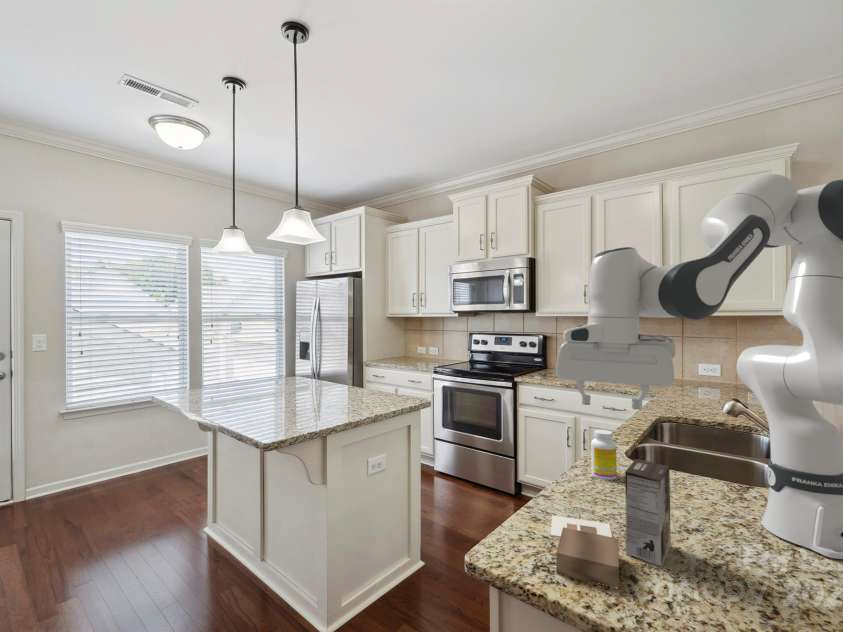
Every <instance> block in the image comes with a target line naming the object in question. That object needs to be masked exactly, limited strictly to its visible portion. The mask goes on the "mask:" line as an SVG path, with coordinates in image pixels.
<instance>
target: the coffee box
mask: <svg viewBox="0 0 843 632" xmlns="http://www.w3.org/2000/svg"><path fill="white" fill-rule="evenodd" d="M624 474H625V479H624V482H625V483H624V484H625V487H624V488H625V491H624V492H625V555H626V556H628V555H630V556H629V557H631V556H634V557H637V558H640V559H643V560H646V561H648V562H647V563H649V562H651V563H650V564H652V563H654V564H653V565H655V564H657V565H660V566H659V567H663V565H664V563H665V562H666V561H665V560H666V558H667V555H668V553H669V551H670V548H671V487H670V486H671V483H670V482H671V480H670V475H671V474H670V465H667V464H666V465H665V464H660V463H657V462H653V461H648V460H643V459H638V458H635V459H634V461H633V462H632V463H631V464H630V465H629V466H628V468H627V469H626V470H625V472H624ZM634 557H633V558H634ZM637 558H636V559H637ZM640 559H639V560H640ZM643 560H642V561H643ZM646 561H645V562H646ZM657 565H656V566H657Z"/></svg>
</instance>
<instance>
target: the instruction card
mask: <svg viewBox="0 0 843 632" xmlns="http://www.w3.org/2000/svg"><path fill="white" fill-rule="evenodd" d="M563 527H564V528H569V529H574V530H579V531H584V532H588V533H593V534H598V535H603V536H608V537H613V534H612V529H611V525H610V523H605V522H600V521H595V520H594V521H592V520H586V519H579V518H572V517H567V516H560V515H551V525H550V537H551V536H552V537H557V538H560V537H561V533H562V530H563Z"/></svg>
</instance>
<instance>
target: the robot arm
mask: <svg viewBox="0 0 843 632" xmlns="http://www.w3.org/2000/svg"><path fill="white" fill-rule="evenodd" d="M700 229H701V230H700V232H701V235H702V237H703V240H704V242H705V243H706V245H708V247H709V248H710V250H709V251H708V252H707V253H706V255H704V256H701V258H697V259H692V260H687V261H685V262H681V263H676V264H675V263H674V264H670V265H664V266H663V265H662V266H658V265H655V264H652V263H651V262H649V261H647V260H646V259H644V258H643V257H642V256H641V255H640V254H639V253H638V251H637V249H636V248H635V247H630V246H629V247H628V246H627V247H626V246H625V247H624V246H623V247H618V248H614V249H609V250H604V251H601V252H599V253H597V254H595V256H593V259H592V261H591V265H590V269H589V278H588V299H589V303H590V308H589V311H588V314H587V315H588V316H587V324H585V325H578V326H577V327H572V328H568V329H566V330H565V331H564V332H563V335H562V336H563V339H564V341H565V342H563V343H562V344H561V345H560V347H559V349H558V354H557V358H556V364H555V365H556V366H555V376H556V377H557V378H558V379H559V380H565V381H566V380H568V381H576V385H575V386H576V388H577V389H578V391H579V393H580V395H581V404H582V406H583V405H586V406H591V394H588V393H587V394H586V393H585V390H584V389H583V387H585V382H595V383H607V384H624V385H625V384H626V385H635V386H637V385H638V389H639V391H640V392H639V394H638V396H637V397H636V398H634V397H633V398H631V402H632V403H631V408H632V410H639V411H641V410H642V411H643V401H644V400H645V398H646V397H647V396H648V394H649V393H650V386H651V387H664V388H669V387H671V386H672V385H673V384H674V383H675V369H674V362H673V359H674V358H675V356H676V346H677V345H676V343H675V341H674V340H673V339H671V338H670V337H667V336H666V335H665V334H658V335H655V334H653V335H652V334H641V333H640V317H642V318H660V319H661V318H662V319H663V318H664V319H665V318H667V319H668V318H669V319H671V318H673V319H674V318H677V319H687V320H694V321H695V320H698V321H699V320H704V319H707V318H709V317H712V315H714V314H716V312H718V310H720V308H721V306H723V304H724V302H725V300H726V298H727V296H728V294H729V292H730V290H731V289H732V287H733V285H734V284H735V283H736V281H737V280H738V279H739V277H741V275H742V274H743V273H744V272H745V271H746V270H747V269H748V267H749V266H750V265H751V264H752V263H753V262H754V261H755V259H756V258H757V257H759V255H760V253H762V252H763V250H764V249H765V248H767V249H769V248H770V249H771V248H772V249H773V248H778V247H781V246H782V247H783V246H795V248H796V253H797V254H796V256H795V258H794V261H793V263H792V267H791V270H790V273H789V278H788V282H787V287H786V291H785V296H784V301H783V306H782V311H781V312H782V316H783V318H784V319H785V320H786V321H787V322H788V323H789V324H790V325H792V326H794V327H796V328H797V329H799V330H800V331H801V332H802V333H801V334H802V338H803V339H802V340H803V341H802V345H787V344H786V345H785V344H765V345H756V346H751V347H747V348H746V349H744V350H743V351H742V352H741V353H740V355H738V357H737V360H736V373H737V376H738V378H739V380H740V382H742V384H744V385H745V386H746V387H747V388H748V389H749V390H751V391H752V393H753V394H754V395H755V397H756V399H757V400H758V402H759V403H760V405H761V408H762V409H763V411H764V414H765V417H766V419H767V423H768V424H767V425H768V428H769V445H770V458H768V462H767V470H766V471H767V474H766V475H767V482H768V483H767V484H768V486H769V492H768V496H767V503H766V507H765V511H764V514H763V516H762V519H761V520H760V522H761V524H762V527H764V529H765V530H767V531H768V532H769V533H771V534H773V535H774V536H777V537H779V538H781V539H782V540H785V541H788V542H789V543H792V544H795V545H799V546H801V547H804V548H807V549H810V550H812V551H814V552H816V553H818V554H821V555H823V556H825V557H828V558H831V559H839V560H843V435H842V433H841V431H840V429H839V428H838V427H837V426H835V425H834V424H833V423H832V422H830V421H829V420H827V418H825V417H824V416H823V415H822V414H821V413H819V411H818V410H817V408H816V407H815V404H814V402H819V403H826V404H831V405H835V406H836V405H838V406H843V179H837V180H832V181H830V182H827V183H822V184H819V185H814V186H810V187H804V188H802V189H797V186H796V184H795V183H794V182H793V180H791V179H790V178H788V177H786V176H784V175H781V174H775V173H767V174H763V175H760V176H757V177H755V178H752V179H750V181H747V182H746V183H745V182H744V184H742V185H739V187H737V188H735V189H733V191H731V192H729V193H728V194H727V195H726V196H724V197H723V198H722V199H721V200H719V201H718V202H717V203H716V204H715V205H713V207H711V208H710V210H709V211H708V212H707V213H706V214H705V216H704V217H703V219H702V220H701V224H700ZM813 401H814V402H813Z"/></svg>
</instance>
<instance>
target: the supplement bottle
mask: <svg viewBox="0 0 843 632" xmlns="http://www.w3.org/2000/svg"><path fill="white" fill-rule="evenodd" d="M612 438H613V432H612V431H610V430H607V429H596V430H594V438H593V439H592V440H591V442H590V472H591V476H592V477H594V478H596V479H600V480H605V481H612V480H616V479H617V474H618V473H617V444H616V442H615V441H613V440H612Z"/></svg>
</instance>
